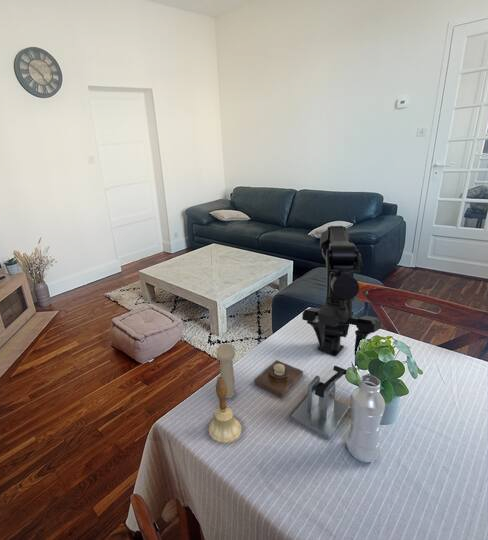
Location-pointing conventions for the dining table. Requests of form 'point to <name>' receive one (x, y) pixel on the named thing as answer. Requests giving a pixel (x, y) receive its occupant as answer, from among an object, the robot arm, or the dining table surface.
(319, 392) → the lever
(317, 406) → the bracket
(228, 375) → the handle
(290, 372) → the button block
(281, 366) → the button
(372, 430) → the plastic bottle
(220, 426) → the hand bell
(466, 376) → the dining table surface
